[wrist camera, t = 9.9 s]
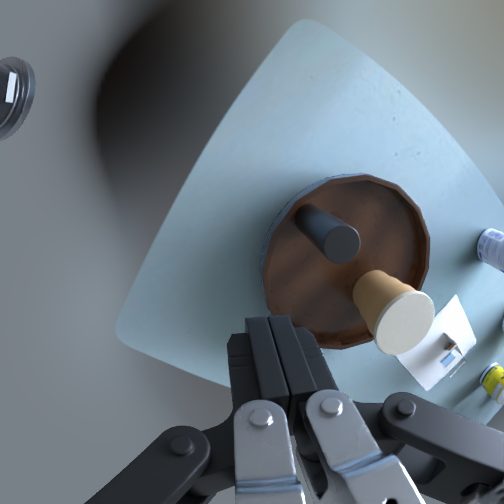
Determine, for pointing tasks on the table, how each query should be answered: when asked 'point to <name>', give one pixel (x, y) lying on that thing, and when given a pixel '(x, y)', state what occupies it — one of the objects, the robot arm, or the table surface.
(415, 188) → the table surface
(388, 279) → the paper cups
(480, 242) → the energy drink
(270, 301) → the tray
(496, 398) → the pill bottle
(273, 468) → the robot arm
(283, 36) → the table surface
